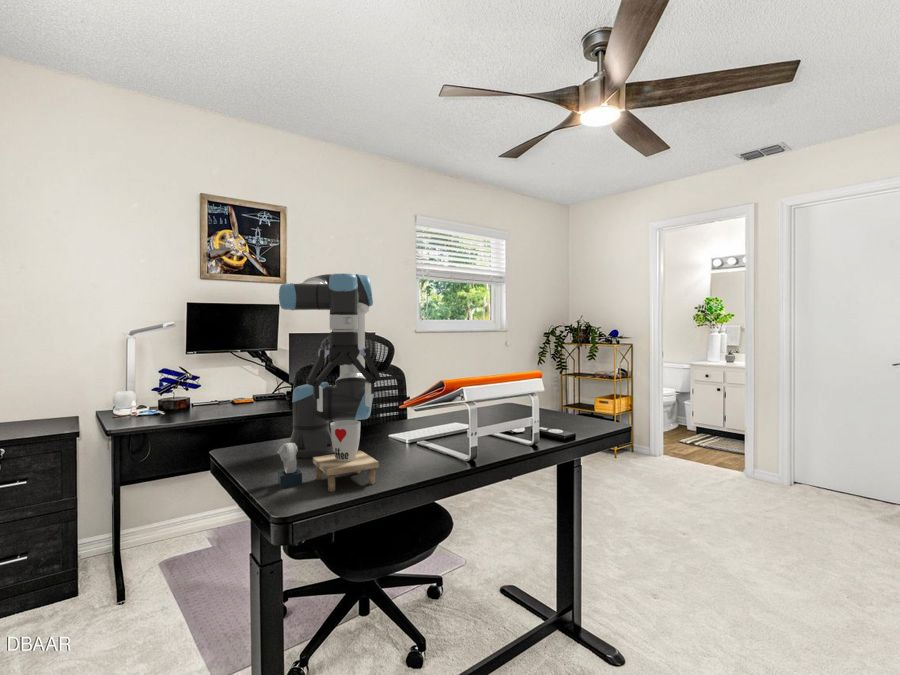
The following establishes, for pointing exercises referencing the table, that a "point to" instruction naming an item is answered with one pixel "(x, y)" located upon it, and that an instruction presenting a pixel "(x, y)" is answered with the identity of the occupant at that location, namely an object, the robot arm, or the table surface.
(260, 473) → the table surface
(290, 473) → the watch
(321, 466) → the small wooden table
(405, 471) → the table surface
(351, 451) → the cup
